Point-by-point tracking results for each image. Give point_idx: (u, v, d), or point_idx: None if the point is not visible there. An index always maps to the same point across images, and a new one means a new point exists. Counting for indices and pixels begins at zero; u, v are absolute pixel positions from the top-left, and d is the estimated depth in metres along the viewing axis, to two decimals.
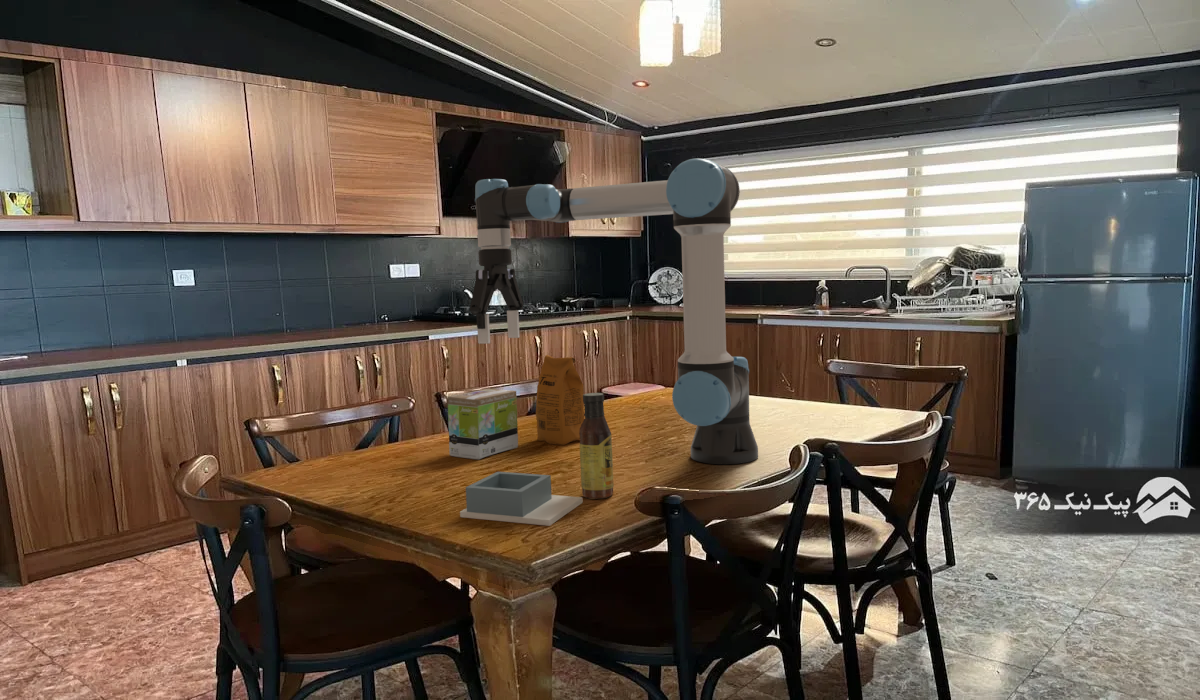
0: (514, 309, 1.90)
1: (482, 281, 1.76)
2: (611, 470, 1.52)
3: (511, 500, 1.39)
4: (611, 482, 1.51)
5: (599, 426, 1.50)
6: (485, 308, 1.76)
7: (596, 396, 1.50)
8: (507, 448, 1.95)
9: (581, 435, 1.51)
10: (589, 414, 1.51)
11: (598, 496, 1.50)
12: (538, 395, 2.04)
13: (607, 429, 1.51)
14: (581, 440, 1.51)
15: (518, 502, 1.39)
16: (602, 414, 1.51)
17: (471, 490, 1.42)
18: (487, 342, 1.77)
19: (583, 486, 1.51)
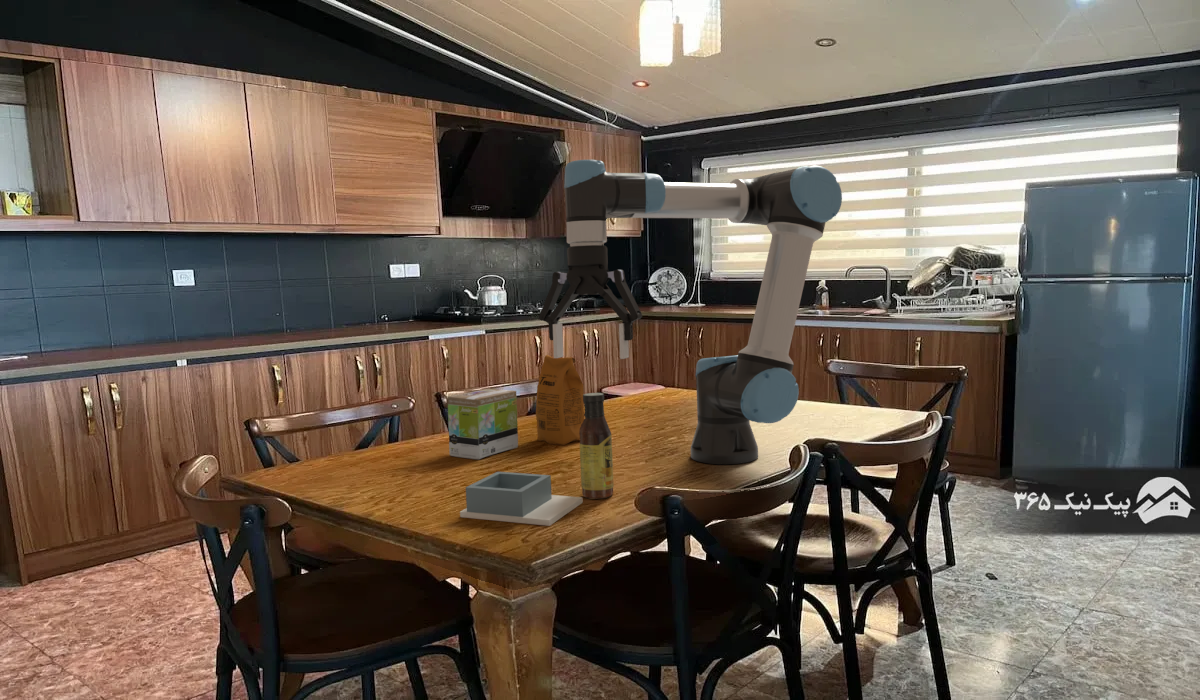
0: None
1: None
2: (611, 470, 1.52)
3: (511, 500, 1.39)
4: (611, 482, 1.51)
5: (599, 426, 1.50)
6: (551, 317, 1.52)
7: (596, 396, 1.50)
8: (507, 448, 1.95)
9: (581, 435, 1.51)
10: (589, 414, 1.51)
11: (598, 496, 1.50)
12: (538, 395, 2.04)
13: (607, 429, 1.51)
14: (581, 440, 1.51)
15: (518, 502, 1.39)
16: (602, 414, 1.51)
17: (471, 490, 1.42)
18: None
19: (583, 486, 1.51)
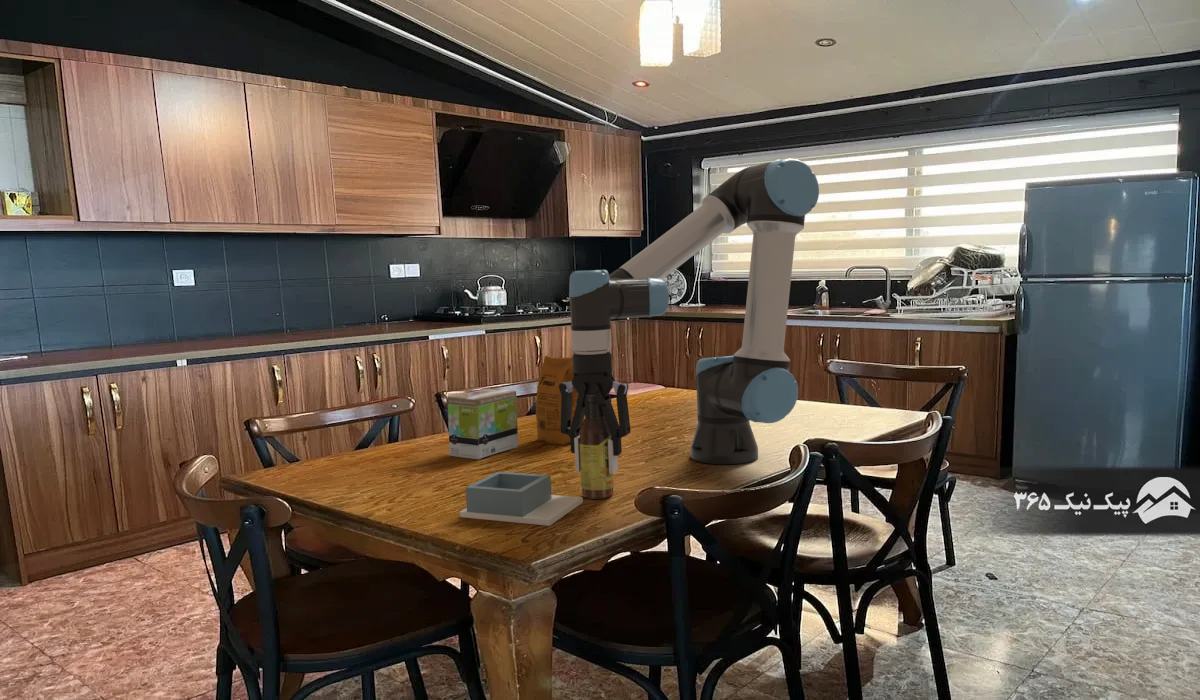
0: None
1: None
2: None
3: (511, 500, 1.39)
4: (611, 482, 1.51)
5: (599, 426, 1.50)
6: (571, 430, 1.53)
7: None
8: (507, 448, 1.95)
9: (581, 435, 1.51)
10: (589, 413, 1.51)
11: (598, 496, 1.50)
12: (538, 395, 2.04)
13: (607, 429, 1.51)
14: (581, 440, 1.51)
15: (518, 502, 1.39)
16: (602, 414, 1.51)
17: (471, 490, 1.42)
18: None
19: (583, 486, 1.51)
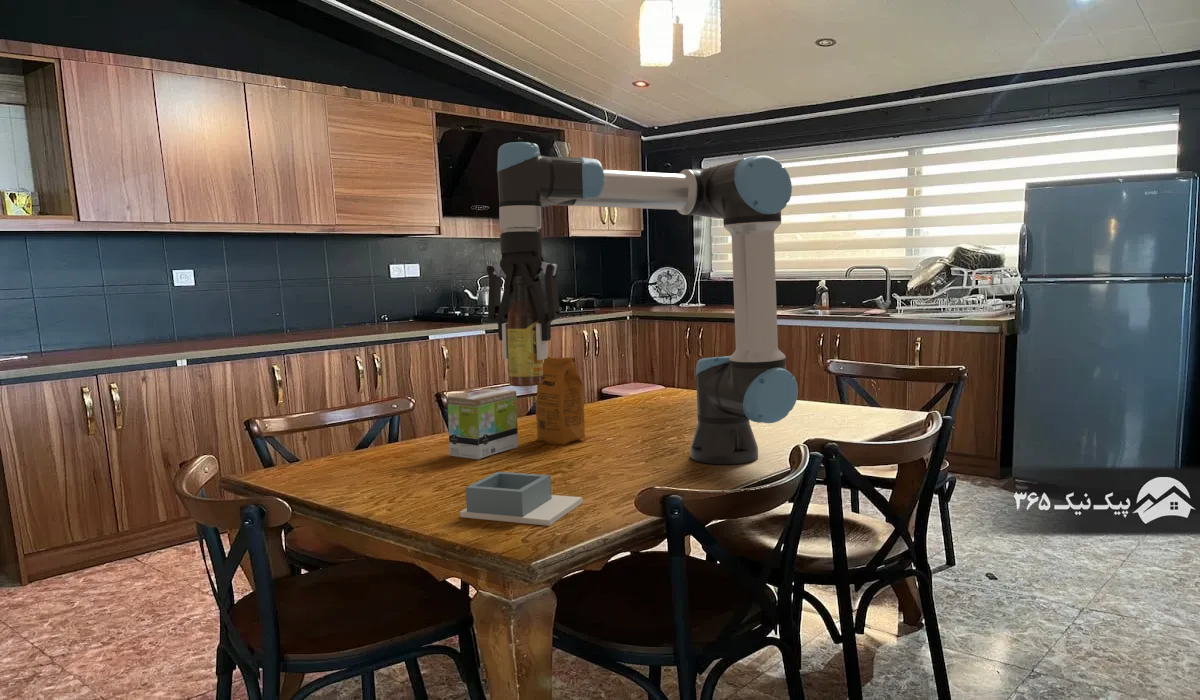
0: None
1: None
2: None
3: (511, 500, 1.39)
4: (540, 369, 1.44)
5: (527, 309, 1.42)
6: (499, 315, 1.45)
7: None
8: (507, 448, 1.95)
9: (509, 319, 1.43)
10: (517, 296, 1.43)
11: (525, 383, 1.42)
12: (538, 395, 2.04)
13: (536, 313, 1.43)
14: (509, 324, 1.43)
15: (518, 502, 1.39)
16: (531, 297, 1.43)
17: (471, 490, 1.42)
18: None
19: (510, 373, 1.44)
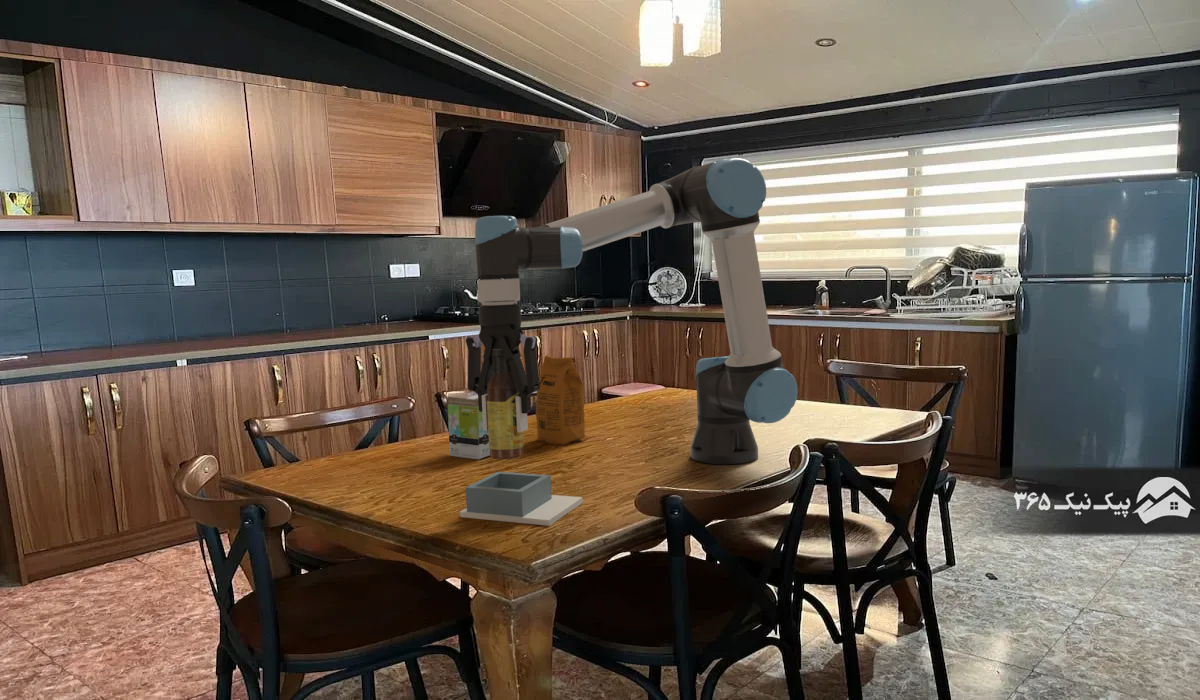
0: None
1: None
2: None
3: (511, 500, 1.39)
4: (520, 441, 1.43)
5: (506, 382, 1.42)
6: (479, 387, 1.44)
7: None
8: None
9: (488, 391, 1.43)
10: (496, 369, 1.42)
11: (505, 456, 1.42)
12: (538, 395, 2.04)
13: (516, 385, 1.43)
14: (488, 397, 1.43)
15: (518, 502, 1.39)
16: (510, 369, 1.43)
17: (471, 490, 1.42)
18: None
19: (490, 445, 1.43)
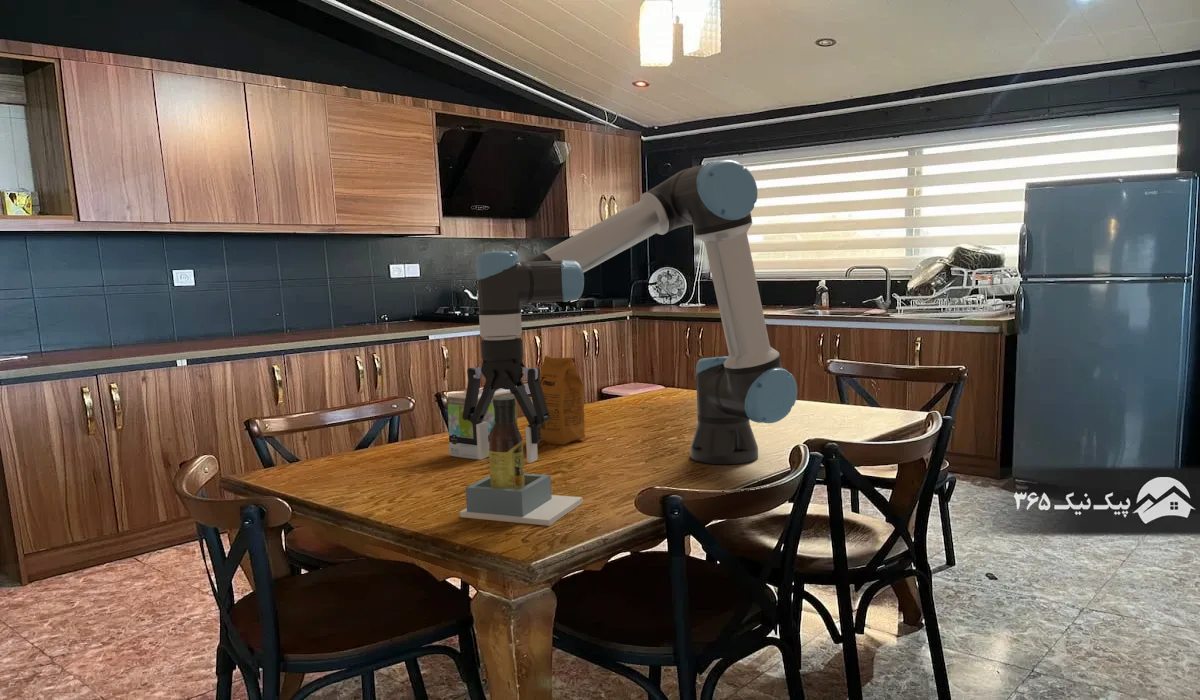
0: None
1: None
2: (521, 478, 1.44)
3: (511, 500, 1.39)
4: None
5: (508, 432, 1.43)
6: (474, 416, 1.46)
7: (506, 400, 1.43)
8: None
9: (490, 441, 1.44)
10: (499, 419, 1.43)
11: None
12: None
13: (517, 435, 1.44)
14: (490, 446, 1.44)
15: (518, 502, 1.39)
16: (512, 419, 1.44)
17: (471, 490, 1.42)
18: None
19: None
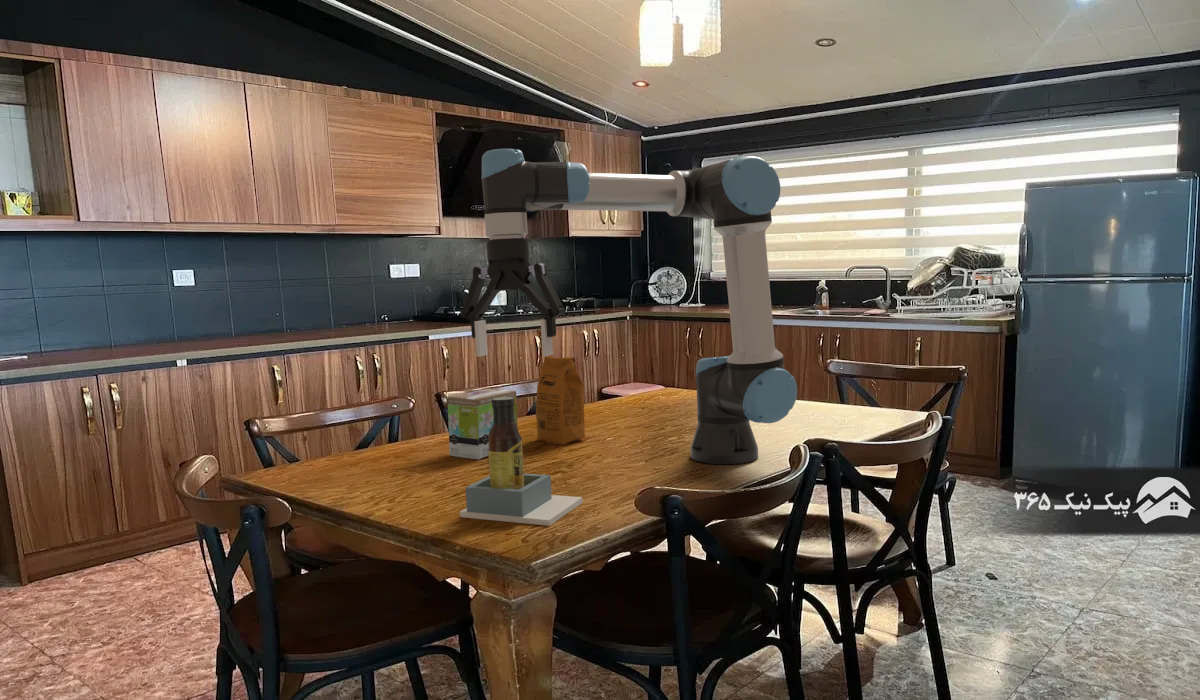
0: None
1: None
2: (521, 478, 1.44)
3: (511, 500, 1.39)
4: None
5: (508, 432, 1.43)
6: (473, 314, 1.46)
7: (504, 400, 1.43)
8: None
9: (489, 441, 1.44)
10: (498, 419, 1.43)
11: None
12: (538, 395, 2.04)
13: (517, 435, 1.44)
14: (489, 447, 1.44)
15: (518, 502, 1.39)
16: (511, 419, 1.44)
17: (471, 490, 1.42)
18: None
19: None
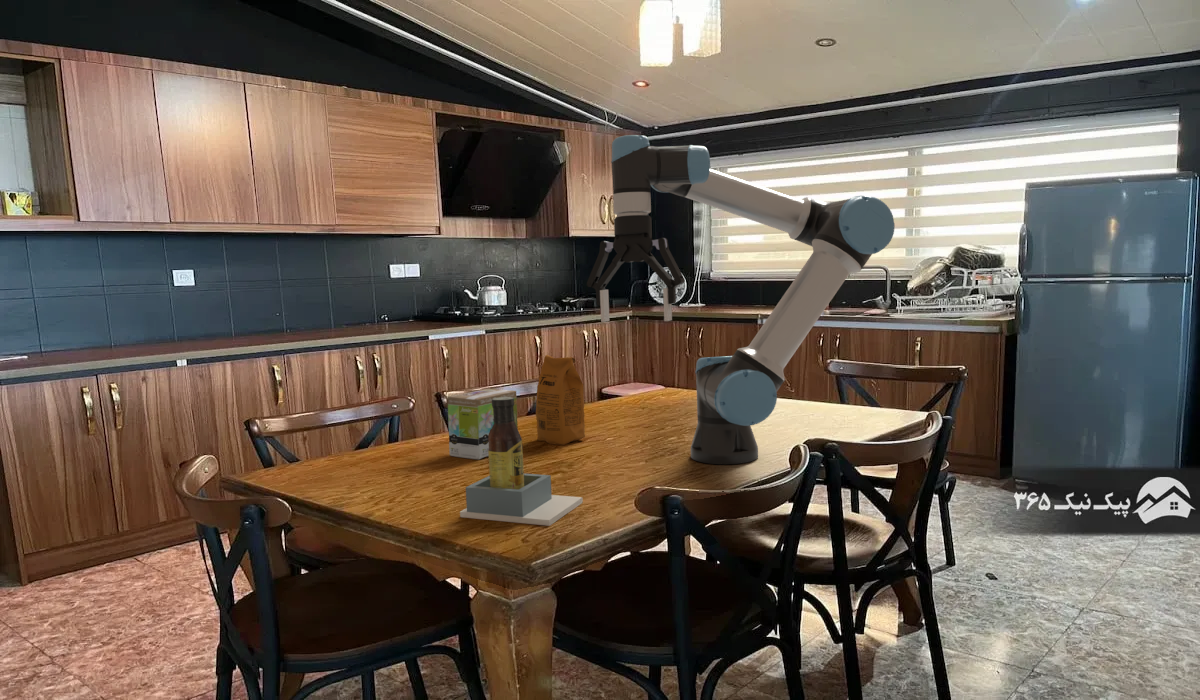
0: None
1: None
2: (521, 478, 1.44)
3: (511, 500, 1.39)
4: None
5: (508, 432, 1.43)
6: (598, 283, 1.62)
7: (504, 400, 1.43)
8: None
9: (489, 441, 1.44)
10: (498, 419, 1.43)
11: None
12: (538, 395, 2.04)
13: (517, 435, 1.44)
14: (489, 446, 1.44)
15: (518, 502, 1.39)
16: (511, 419, 1.44)
17: (471, 490, 1.42)
18: None
19: None
